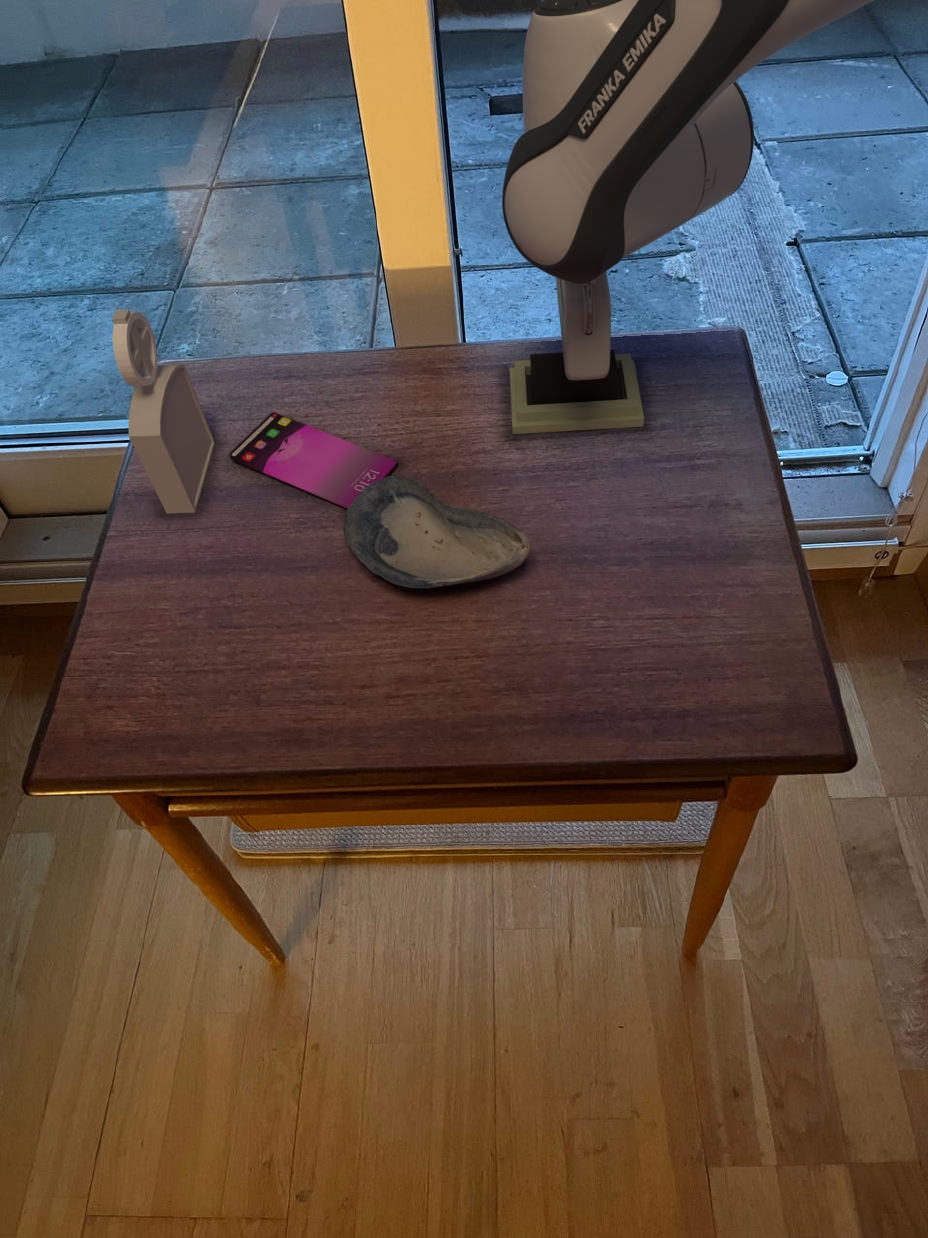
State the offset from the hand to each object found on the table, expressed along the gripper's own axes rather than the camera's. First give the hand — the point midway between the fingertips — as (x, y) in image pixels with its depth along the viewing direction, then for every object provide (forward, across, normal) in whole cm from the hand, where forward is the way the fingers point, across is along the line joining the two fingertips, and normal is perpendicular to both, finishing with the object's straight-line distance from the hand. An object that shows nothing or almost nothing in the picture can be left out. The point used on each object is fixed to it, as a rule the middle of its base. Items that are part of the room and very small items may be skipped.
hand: (578, 356), depth 85 cm
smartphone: (+5, -7, +25) cm, 27 cm away
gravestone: (+5, -8, +37) cm, 38 cm away
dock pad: (+5, 0, 0) cm, 5 cm away
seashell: (+5, -19, +13) cm, 24 cm away
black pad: (+4, 0, 0) cm, 4 cm away
